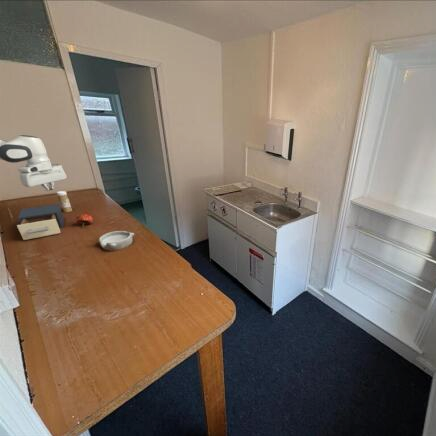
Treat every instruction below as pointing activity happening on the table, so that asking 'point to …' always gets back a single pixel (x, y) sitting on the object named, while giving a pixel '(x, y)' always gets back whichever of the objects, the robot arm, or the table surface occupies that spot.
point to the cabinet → (42, 213)
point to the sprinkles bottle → (64, 201)
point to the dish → (116, 240)
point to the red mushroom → (84, 219)
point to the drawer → (39, 226)
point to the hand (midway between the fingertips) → (50, 190)
